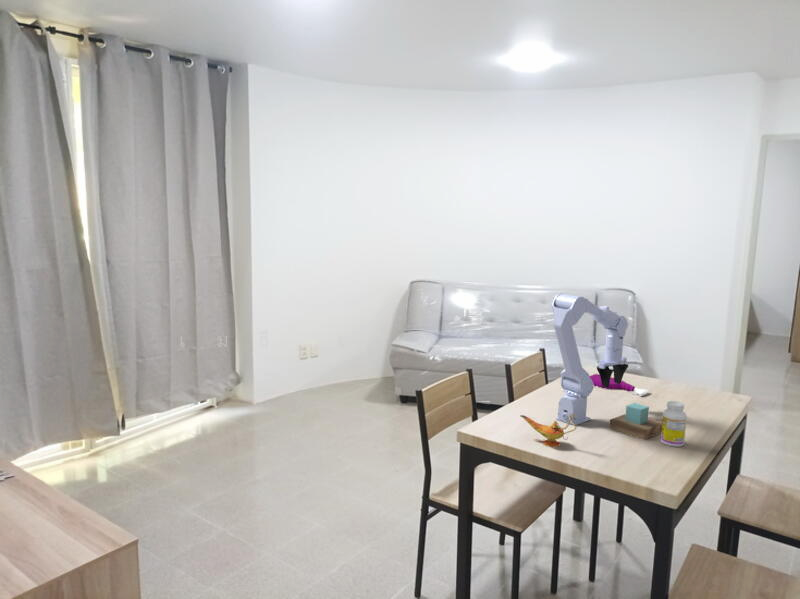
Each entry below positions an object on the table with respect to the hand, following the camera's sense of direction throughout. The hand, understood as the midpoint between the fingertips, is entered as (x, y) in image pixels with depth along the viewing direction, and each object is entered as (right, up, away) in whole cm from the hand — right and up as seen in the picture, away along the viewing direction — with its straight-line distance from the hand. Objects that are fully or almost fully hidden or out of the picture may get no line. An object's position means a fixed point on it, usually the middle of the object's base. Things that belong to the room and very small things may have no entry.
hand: (611, 384), depth 204 cm
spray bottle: (+13, -6, +28) cm, 31 cm away
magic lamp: (-31, -14, -28) cm, 44 cm away
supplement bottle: (+9, -14, -28) cm, 32 cm away
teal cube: (+2, -9, -18) cm, 20 cm away
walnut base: (+2, -12, -17) cm, 21 cm away
